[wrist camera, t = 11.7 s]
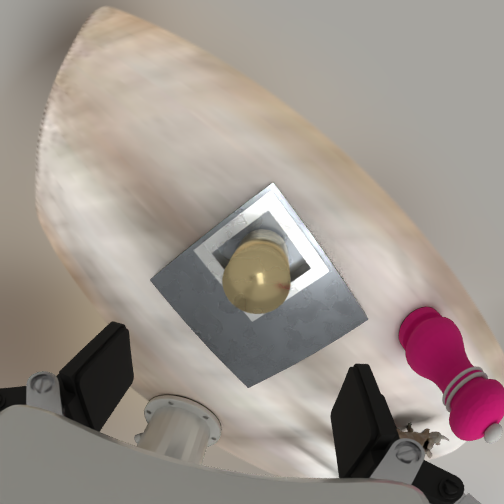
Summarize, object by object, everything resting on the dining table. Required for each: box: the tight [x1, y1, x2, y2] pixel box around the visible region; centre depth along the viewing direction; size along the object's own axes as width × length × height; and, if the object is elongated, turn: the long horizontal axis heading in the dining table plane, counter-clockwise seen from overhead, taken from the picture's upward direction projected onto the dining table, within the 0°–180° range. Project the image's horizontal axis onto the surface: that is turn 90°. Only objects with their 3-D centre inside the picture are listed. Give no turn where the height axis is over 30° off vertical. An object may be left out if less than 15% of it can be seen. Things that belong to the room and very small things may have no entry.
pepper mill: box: [399, 307, 504, 443], centre depth 21 cm, size 7×7×20 cm
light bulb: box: [222, 229, 291, 314], centre depth 25 cm, size 5×5×8 cm
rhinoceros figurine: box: [397, 422, 449, 458], centre depth 32 cm, size 8×14×15 cm
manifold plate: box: [150, 183, 368, 388], centre depth 29 cm, size 17×18×4 cm
